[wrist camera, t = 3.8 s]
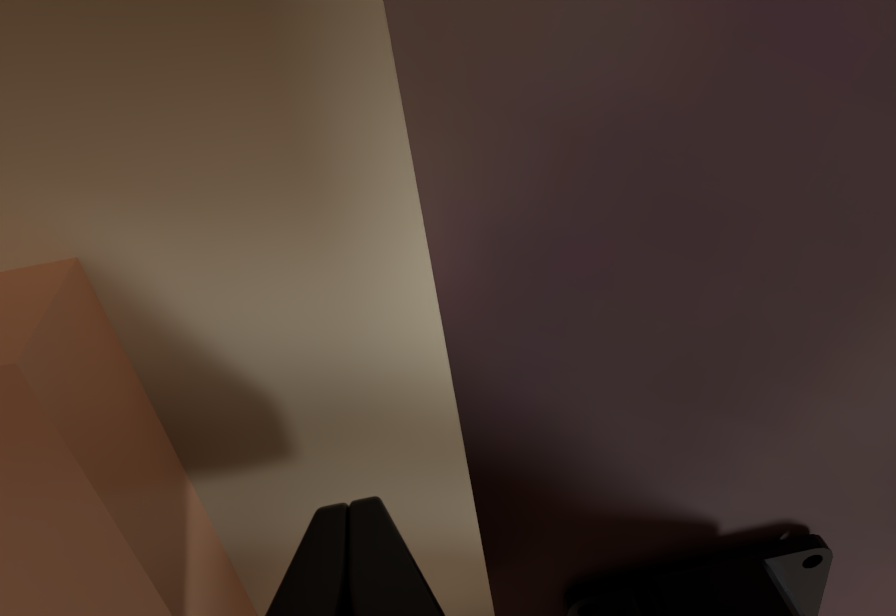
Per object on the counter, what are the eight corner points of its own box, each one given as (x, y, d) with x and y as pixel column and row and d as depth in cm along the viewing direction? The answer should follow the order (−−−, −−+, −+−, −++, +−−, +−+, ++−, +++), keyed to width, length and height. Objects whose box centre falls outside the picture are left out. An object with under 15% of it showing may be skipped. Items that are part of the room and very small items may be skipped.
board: (484, 576, 17) (506, 681, 15) (-81, 696, 16) (-140, 823, 14) (355, -115, 9) (364, -98, 7) (-750, 80, 8) (-1102, 161, 6)
